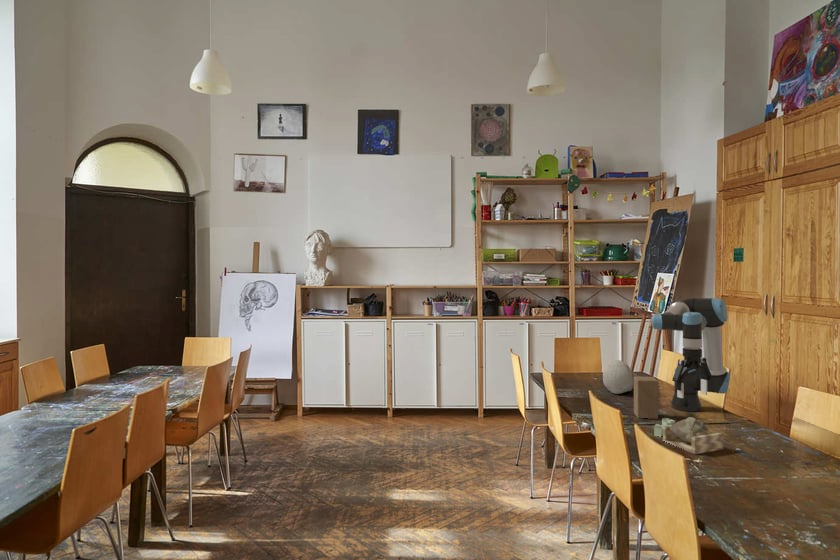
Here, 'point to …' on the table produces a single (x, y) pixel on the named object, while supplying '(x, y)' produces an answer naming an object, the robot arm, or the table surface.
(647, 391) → the wooden block
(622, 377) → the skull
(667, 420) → the clip
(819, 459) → the table surface
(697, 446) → the cradle
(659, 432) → the clip
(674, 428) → the lumpy boulder
